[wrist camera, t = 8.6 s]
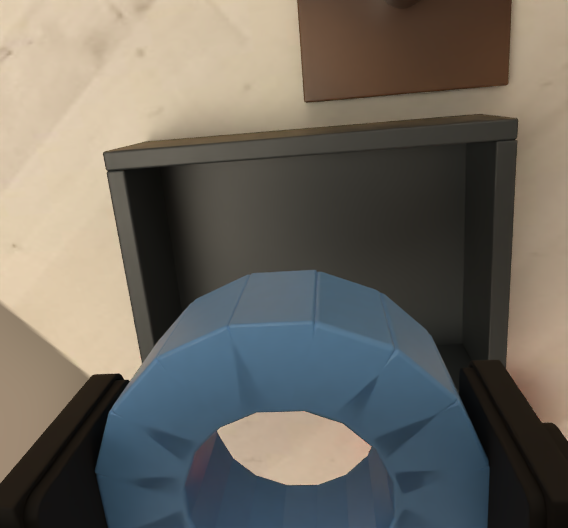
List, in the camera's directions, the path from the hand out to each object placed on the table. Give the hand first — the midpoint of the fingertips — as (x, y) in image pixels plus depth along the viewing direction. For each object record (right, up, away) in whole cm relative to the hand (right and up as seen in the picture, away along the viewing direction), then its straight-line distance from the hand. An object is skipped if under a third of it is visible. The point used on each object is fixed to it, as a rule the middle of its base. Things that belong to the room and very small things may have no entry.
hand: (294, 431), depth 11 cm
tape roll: (0, 0, +1) cm, 1 cm away
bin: (+1, +4, +13) cm, 14 cm away
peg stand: (+4, +14, +9) cm, 18 cm away
